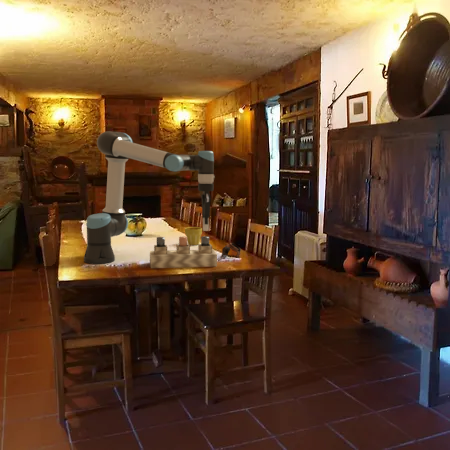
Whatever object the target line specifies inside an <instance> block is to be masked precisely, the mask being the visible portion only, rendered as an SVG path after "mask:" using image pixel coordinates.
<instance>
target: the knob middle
mask: <svg viewBox="0 0 450 450" xmlns="http://www.w3.org/2000/svg"><path fill="white" fill-rule="evenodd" d="M187 244H188V241H187V236H178V245H179V246H180V247H186V246H187Z"/></svg>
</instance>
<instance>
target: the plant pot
mask: <svg viewBox="0 0 450 450" xmlns="http://www.w3.org/2000/svg"><path fill="white" fill-rule="evenodd" d="M184 234H185V237H187V244H189V246H197V245H198V244H200V243H201V237H202V234H203V227H197V226H188V227H185V228H184Z"/></svg>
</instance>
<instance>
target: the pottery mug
mask: <svg viewBox="0 0 450 450" xmlns="http://www.w3.org/2000/svg"><path fill="white" fill-rule="evenodd" d="M231 250H232V251H234V252H236V257H237V258H239V257H240V256H241V251H242V249H241V247H239V246H238V245H237V244H235V243H234V242H229V244H226V245H225V246H224V247H223V248H222V249H221V257H223V256H225V257H228V255H229V253H230V251H231Z"/></svg>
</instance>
